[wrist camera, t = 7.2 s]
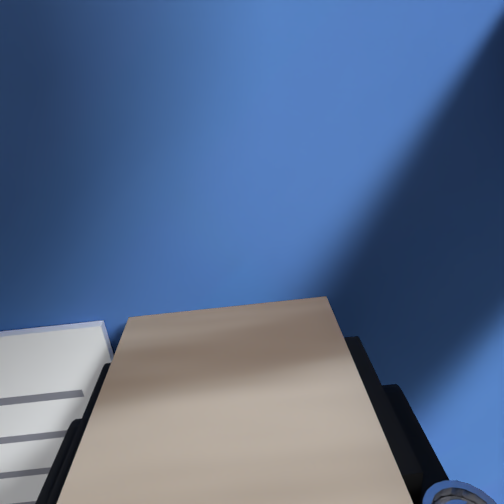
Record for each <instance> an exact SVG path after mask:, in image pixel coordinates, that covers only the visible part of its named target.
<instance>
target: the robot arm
mask: <svg viewBox="0 0 504 504" xmlns="http://www.w3.org/2000/svg"><path fill="white" fill-rule="evenodd" d="M344 340H345V342H346V344H347V347H348V349H349V351H350V354H351V356H352V359H353V361H354V363H355V366H356V368H357V371H358V373H359V375H360V378H361V380H362V382H363V385H364V387H365V390H366V392H367V394H368V397H369V399H370V401H371V404H372V406H373V409H374V411H375V413H376V416H377V418H378V421H379V423H380V425H381V428H382V430H383V432H384V435H385V437H386V440H387V442H388V444H389V447H390V449H391V452H392V454H393V456H394V459H395V461H396V463H397V466H398V468H399V471H400V473H401V475H402V478H403V480H404V483H405V485H406V487H407V490H408V492H409V494H410V497H411V499H412V502H413V504H496V502H495V501H494V500H493V499H492V498H491V497H489V496H488V495H487V494H486V493H484V492H483V491H482V490H480V489H478V488H476V487H474V486H472V485H470V484H468V483H464V482H460V481H450V480H449V479H448V477H447V475H446V473H445V471H444V469H443V467H442V465H441V464H440V462H439V460H438V458H437V456H436V454H435V452H434V450H433V448H432V447H431V445H430V443H429V441H428V439H427V437H426V435H425V433H424V431H423V430H422V428H421V426H420V424H419V422H418V420H417V418H416V416H415V414H414V413H413V411H412V409H411V407H410V405H409V403H408V401H407V399H406V397H405V396H404V394H403V392H402V390H401V389H400V387H399V386H398V385H397V384H392V385H383V386H382V385H381V383H380V381H379V379H378V376H377V374H376V372H375V370H374V368H373V366H372V364H371V362H370V360H369V358H368V355H367V353H366V351H365V349H364V347H363V345H362V343H361V341H360V339H359V337H358V336H355V337H345V338H344ZM110 365H111V363H106V364H104V366H103V368H102V370H101V373H100V375H99V378H98V380H97V382H96V385H95V387H94V390H93V392H92V395H91V397H90V399H89V402H88V404H87V407H86V409H85V412H84V414H83V416H82V418H81V419H75V420H73V421H72V422H71V424H70V426H69V428H68V430H67V432H66V434H65V437H64V439H63V441H62V444H61V446H60V448H59V450H58V453H57V455H56V457H55V460H54V462H53V464H52V466H51V469H50V471H49V473H48V476H47V478H46V480H45V482H44V485H43V487H42V489H41V492H40V494H39V496H38V498H37V501H36V503H35V504H57V501H58V499H59V496H60V494H61V491H62V488H63V486H64V483H65V481H66V478H67V476H68V473H69V470H70V468H71V465H72V463H73V460H74V458H75V455H76V452H77V450H78V447H79V445H80V442H81V439H82V437H83V434H84V432H85V429H86V427H87V424H88V421H89V419H90V416H91V414H92V411H93V409H94V406H95V403H96V401H97V398H98V396H99V393H100V391H101V388H102V385H103V383H104V380H105V378H106V375H107V372H108V370H109V367H110Z"/></svg>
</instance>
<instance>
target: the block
mask: <svg viewBox="0 0 504 504" xmlns="http://www.w3.org/2000/svg"><path fill="white" fill-rule="evenodd" d="M57 504H413V502H412V499H411V497H410V494H409V492H408V490H407V487H406V485H405V483H404V480H403V478H402V475H401V473H400V471H399V468H398V466H397V463H396V461H395V459H394V456H393V454H392V452H391V449H390V447H389V444H388V442H387V440H386V437H385V435H384V432H383V430H382V428H381V425H380V423H379V421H378V418H377V416H376V413H375V411H374V409H373V406H372V404H371V401H370V399H369V397H368V394H367V392H366V390H365V387H364V385H363V382H362V380H361V378H360V375H359V373H358V371H357V368H356V366H355V363H354V361H353V359H352V356H351V354H350V351H349V349H348V347H347V344H346V342H345V340H344V337H343V335H342V332H341V330H340V328H339V325H338V323H337V320H336V318H335V316H334V313H333V311H332V309H331V306H330V304H329V301H328V299H327V297H326V296H325V297H316V298H306V299H297V300H287V301H278V302H269V303H259V304H250V305H240V306H231V307H222V308H212V309H203V310H193V311H184V312H175V313H165V314H156V315H147V316H137V317H129V318H128V321H127V324H126V326H125V329H124V331H123V334H122V336H121V339H120V342H119V344H118V347H117V349H116V352H115V354H114V357H113V360H112V362H111V365H110V367H109V370H108V372H107V375H106V378H105V380H104V383H103V385H102V388H101V391H100V393H99V396H98V398H97V401H96V403H95V406H94V409H93V411H92V414H91V416H90V419H89V421H88V424H87V427H86V429H85V432H84V434H83V437H82V439H81V442H80V445H79V447H78V450H77V452H76V455H75V458H74V460H73V463H72V465H71V468H70V470H69V473H68V476H67V478H66V481H65V483H64V486H63V488H62V491H61V494H60V496H59V499H58V501H57Z"/></svg>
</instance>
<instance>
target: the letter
mask: <svg viewBox="0 0 504 504" xmlns="http://www.w3.org/2000/svg"><path fill="white" fill-rule="evenodd" d="M113 357H114V354H113V351H112V347H111V344H110V340H109V337H108V334H107V330H106V327H105V323H104V320H103V321H93V322H84V323H75V324H65V325H56V326H46V327H37V328H28V329H18V330H9V331H0V504H35V503H36V501H37V498H38V496H39V494H40V492H41V489H42V487H43V485H44V482H45V480H46V478H47V476H48V473H49V471H50V469H51V466H52V464H53V462H54V460H55V457H56V455H57V453H58V450H59V448H60V446H61V444H62V441H63V439H64V437H65V434H66V432H67V430H68V428H69V426H70V424H71V422H72V421H73V420H75V419H81V418H82V416H83V414H84V412H85V409H86V407H87V404H88V402H89V399H90V397H91V395H92V392H93V390H94V387H95V385H96V382H97V380H98V378H99V375H100V373H101V370H102V368H103V366H104V364H106V363H111V362H112V360H113Z"/></svg>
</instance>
